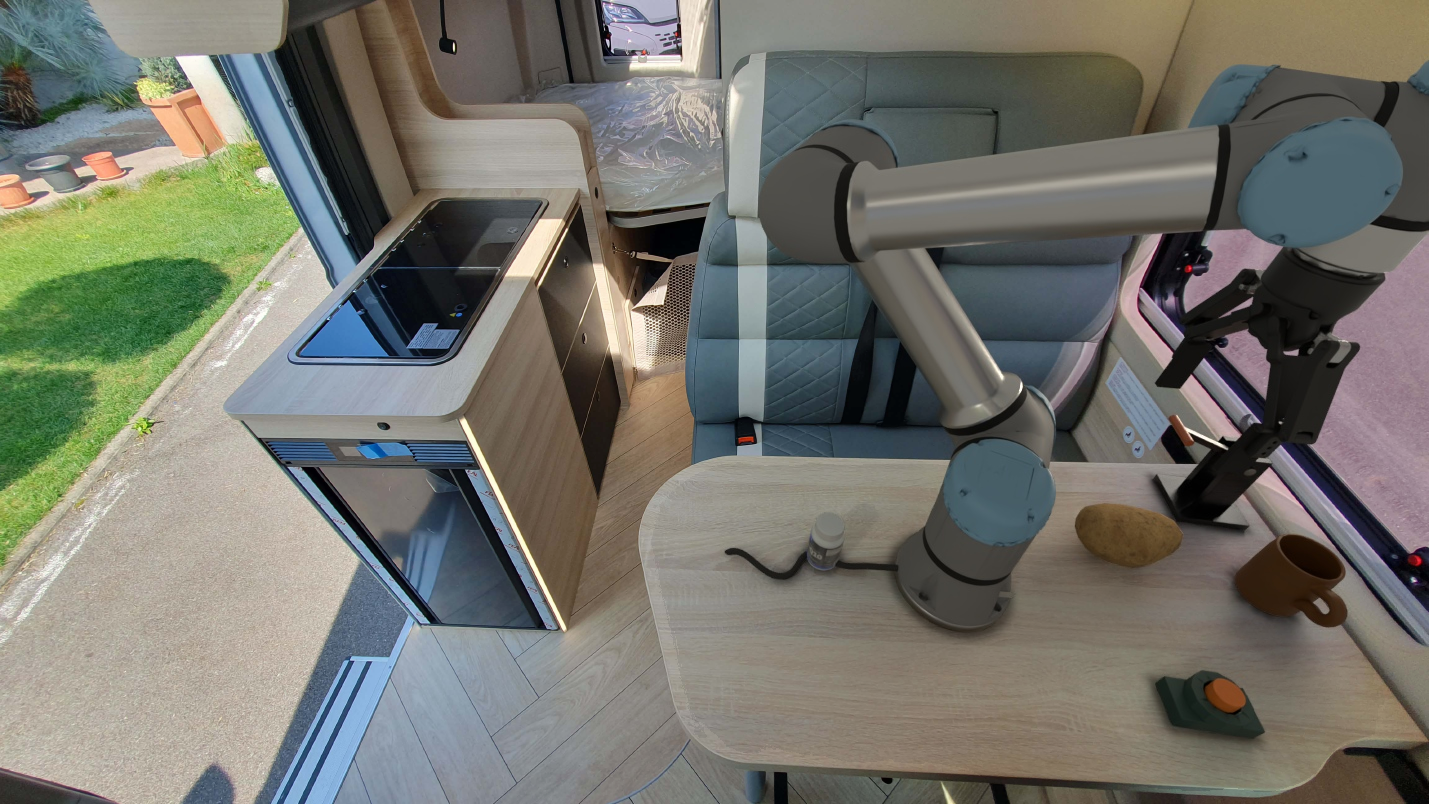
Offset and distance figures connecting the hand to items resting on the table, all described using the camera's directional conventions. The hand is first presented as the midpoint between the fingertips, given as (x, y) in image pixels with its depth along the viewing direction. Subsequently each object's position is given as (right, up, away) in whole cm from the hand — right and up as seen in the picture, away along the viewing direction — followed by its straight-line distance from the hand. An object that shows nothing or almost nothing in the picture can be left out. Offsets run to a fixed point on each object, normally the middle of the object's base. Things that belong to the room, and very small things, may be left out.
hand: (1194, 425), depth 66 cm
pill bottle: (-39, -20, +19) cm, 48 cm away
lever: (+18, -5, +20) cm, 27 cm away
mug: (+22, -26, +14) cm, 37 cm away
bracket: (+23, -14, +27) cm, 38 cm away
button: (+4, -32, +1) cm, 32 cm away
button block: (+4, -35, +4) cm, 35 cm away
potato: (+5, -20, +20) cm, 29 cm away
